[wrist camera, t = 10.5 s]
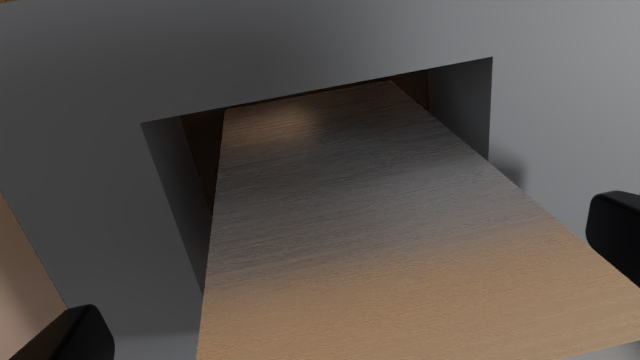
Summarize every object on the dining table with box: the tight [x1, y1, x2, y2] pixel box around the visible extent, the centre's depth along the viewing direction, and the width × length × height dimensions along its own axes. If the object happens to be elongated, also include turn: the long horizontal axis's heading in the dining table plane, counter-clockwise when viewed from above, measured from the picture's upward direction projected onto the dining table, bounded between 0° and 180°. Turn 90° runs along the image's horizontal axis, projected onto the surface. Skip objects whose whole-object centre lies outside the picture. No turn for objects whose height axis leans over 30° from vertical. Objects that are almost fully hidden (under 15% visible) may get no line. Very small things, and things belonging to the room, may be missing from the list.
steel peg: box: [196, 80, 640, 360], centre depth 8 cm, size 4×4×8 cm
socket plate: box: [0, 0, 640, 360], centre depth 10 cm, size 10×20×3 cm, turn 98°
